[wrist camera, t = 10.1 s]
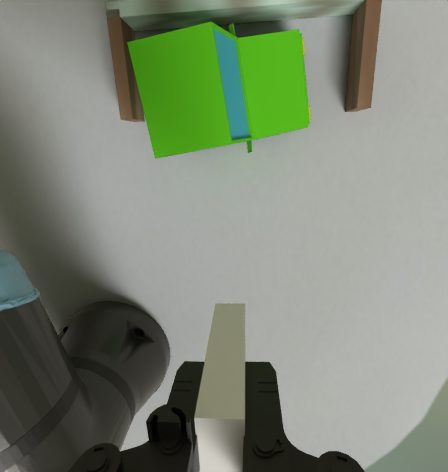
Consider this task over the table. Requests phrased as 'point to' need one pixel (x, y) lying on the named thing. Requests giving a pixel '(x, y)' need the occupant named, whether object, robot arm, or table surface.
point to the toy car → (219, 87)
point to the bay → (239, 11)
